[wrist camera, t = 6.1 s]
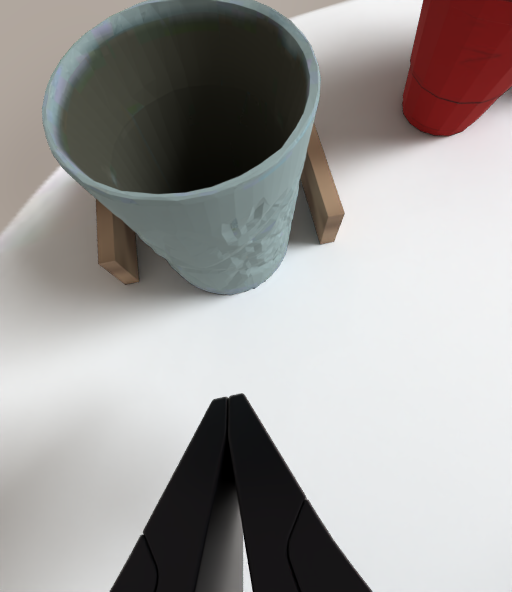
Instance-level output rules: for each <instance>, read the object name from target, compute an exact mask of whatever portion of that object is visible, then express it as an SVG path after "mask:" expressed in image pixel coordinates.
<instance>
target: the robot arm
mask: <svg viewBox="0 0 512 592" xmlns="http://www.w3.org/2000/svg"><path fill="white" fill-rule="evenodd" d="M143 534H144V535H141V536H140V537H139V539H138V541H137V543H136V545H135V547H134V549H133V551H132V552H131V554H130V556H129V558H128V560H127V562H126V563H125V565H124V567H123V569H122V571H121V572H120V574H119V576H118V578H117V580H116V581H115V583H114V585H113V587H112V588H111V590H110V592H243V535H244V541H245V547H246V553H247V559H248V565H249V571H250V578H251V584H252V590H253V592H372V590H371V589H370V588H369V586H368V585H367V584H366V583H365V581H364V580H363V579H362V577H361V576H360V575H359V574H358V572H357V571H356V570H355V568H354V567H353V566H352V564H351V563H350V562H349V560H348V559H347V558H346V556H345V555H344V553H343V552H342V551H341V549H340V548H339V547H338V545H337V544H336V542H335V541H334V540H333V538H332V537H331V535H330V533H329V532H328V530H327V529H326V527H325V526H324V524H323V523H322V521H321V520H320V518H319V517H318V515H317V513H316V512H315V510H314V508H313V507H312V505H311V503H310V502H309V500H307V498H306V495H305V494H304V492H303V490H302V489H301V487H300V486H299V484H298V482H297V481H296V479H295V477H294V476H293V474H292V472H291V471H290V469H289V467H288V466H287V464H286V462H285V461H284V459H283V457H282V456H281V454H280V452H279V451H278V449H277V448H276V446H275V444H274V443H273V441H272V439H271V438H270V436H269V434H268V433H267V431H266V429H265V428H264V426H263V424H262V423H261V421H260V419H259V418H258V416H257V414H256V413H255V411H254V409H253V408H252V406H251V405H250V403H249V401H248V400H247V398H246V396H245V395H244V394H243V393H241V394H236V395H231V396H230V397H229V398H228V397H222V398H217V399H214V400H213V401H212V402H211V404H210V406H209V408H208V409H207V411H206V413H205V415H204V417H203V419H202V421H201V423H200V425H199V426H198V428H197V430H196V432H195V434H194V436H193V438H192V440H191V442H190V443H189V445H188V447H187V449H186V451H185V453H184V455H183V457H182V459H181V460H180V462H179V464H178V466H177V468H176V470H175V472H174V474H173V475H172V477H171V479H170V481H169V483H168V485H167V487H166V489H165V491H164V492H163V494H162V496H161V498H160V500H159V502H158V504H157V506H156V508H155V509H154V511H153V513H152V515H151V517H150V519H149V521H148V523H147V525H146V526H145V528H144V530H143Z"/></svg>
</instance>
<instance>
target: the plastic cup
mask: <svg viewBox="0 0 512 592" xmlns="http://www.w3.org/2000/svg"><path fill="white" fill-rule="evenodd" d="M410 64H411V65H410V69H409V73H408V77H407V81H406V85H405V89H404V93H403V102H402V106H403V114H404V115H405V117H406V118H407V120H408V121H409V123H410V124H411V125H413V126H414V127H416V128H417V129H419V130H420V131H422V132H425V133H429V134H432V135H453V134H456V133H459V132H462V131H464V130H465V129H466V128H467V127H468V126H470V125H471V124H472V123H474V122H475V121H476V120H477V119H478V118H479V117H480V116H481V115H482V114H483V113H484V112H485V111H486V110H487V109H488V108H489V107H490V106H491V105H492V104H493V103H494V102H495V101H496V100H497V99H498V98H499V97H500V96H501V95H502V94H503V93H505V92H506V91H507V90H508V89H509V88H510V87H511V86H512V0H423V4H422V9H421V13H420V18H419V22H418V27H417V31H416V36H415V41H414V45H413V50H412V54H411V59H410Z"/></svg>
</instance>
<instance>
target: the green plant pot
mask: <svg viewBox="0 0 512 592" xmlns="http://www.w3.org/2000/svg"><path fill="white" fill-rule="evenodd" d="M320 81H321V78H320V71H319V65H318V62H317V60H316V57H315V54H314V51H313V49H312V46H311V45H310V43H309V42H308V40H307V39H306V37H305V36H304V34H303V33H302V32H301V31H300V30H299V29H298V28H297V27H296V26H295V25H294V24H293V23H292V22H291V21H290V20H289V19H287V18H286V17H285V16H283V15H282V14H280V13H279V12H277V11H276V10H274V9H272V8H270V7H268V6H266V5H264V4H261V3H259V2H257V1H254V0H148V1H144V2H141V3H138V4H136V5H134V6H132V7H130V8H128V9H125V10H123V11H121V12H119V13H117V14H114V15H112V16H110V17H109V18H107V19H106V20H105V21H103V22H101V23H100V24H98V25H97V26H95V27H94V28H93V29H91V30H89V31H88V32H87V33H85V34H84V35H83V36H82V37H81V38H80V39H79V40H78V41H77V42H76V43H74V44H73V46H72V47H71V48H70V49H69V50H68V52H67V53H66V54H65V55H64V56H63V58H62V59H61V60H60V62H59V64H58V65H57V67H56V69H55V70H54V72H53V74H52V75H51V78H50V80H49V83H48V85H47V88H46V91H45V96H44V101H43V106H42V119H43V126H44V130H45V135H46V138H47V141H48V144H49V146H50V149H51V151H52V154H53V156H54V157H55V158H56V160H57V161H58V162H59V164H60V165H61V167H62V168H63V169H64V170H65V171H66V172H67V173H68V174H69V175H70V176H71V177H72V178H74V179H75V180H76V181H77V182H78V183H79V184H80V185H81V186H82V187H84V188H85V189H86V190H87V191H88V192H89V193H90V194H91V195H93V196H94V197H95V198H96V199H97V200H98V201H99V202H101V203H102V204H103V205H104V206H105V207H106V208H107V209H109V210H110V211H111V212H112V213H113V214H114V215H116V216H117V217H118V218H120V219H121V220H123V222H124V223H125V224H127V225H128V226H129V227H130V228H131V229H132V230H133V231H134V232H136V233H137V234H138V235H139V237H140V238H141V239H142V240H143V241H144V242H145V243H146V244H147V245H148V246H150V247H151V248H152V249H153V250H154V251H155V252H156V253H157V254H158V255H160V256H162V257H163V258H165V259H167V261H168V263H169V264H170V266H171V267H172V268H173V269H174V270H176V271H177V272H178V273H179V274H180V275H181V276H182V277H183V278H184V279H186V280H187V281H188V282H189V283H191V284H192V285H194V286H196V287H197V288H200V289H202V290H205V291H208V292H212V293H217V294H228V295H232V294H236V293H240V292H244V291H248V290H249V289H251V288H253V289H255V288H256V287H257V286H259V285H260V284H261V283H263V282H265V281H266V280H267V279H268V278H269V277H270V276H271V275H272V274H273V273H274V272H275V271H276V270H277V268H278V267H279V265H280V264H281V262H282V261H283V258H284V256H285V254H286V250H287V247H288V241H289V235H290V230H291V221H292V219H293V215H294V210H295V204H296V200H297V196H298V190H299V180H300V177H301V173H302V170H303V167H304V162H305V158H306V153H307V147H308V143H309V139H310V135H311V131H312V127H313V123H314V119H315V115H316V111H317V106H318V102H319V98H320Z"/></svg>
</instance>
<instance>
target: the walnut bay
mask: <svg viewBox="0 0 512 592" xmlns="http://www.w3.org/2000/svg"><path fill="white" fill-rule="evenodd" d="M300 178H301V182H302V185H303V189H304V192H305V195H306V199H307V202H308V205H309V209H310V212H311V215H312V219H313V222H314V225H315V229H316V232H317V235H318V239H319V242H320V244H324V243H329V242H334V240H335V238H336V235H337V232H338V230H339V227H340V224H341V222H342V219H343V217H344V214H345V213H344V210H343V207H342V204H341V201H340V198H339V195H338V192H337V189H336V186H335V184H334V181H333V178H332V175H331V172H330V169H329V166H328V163H327V160H326V157H325V154H324V151H323V148H322V145H321V142H320V139H319V136H318V134H317V131H316V128H315V125H314V123H313V127H312V131H311V135H310V139H309V143H308V147H307V153H306V158H305V162H304V167H303V170H302V173H301V177H300ZM96 214H97V241H98V264H99V265H100V266H102V267H103V268H104V269H106V270H107V271H108V272H109V273H111V274H112V275H113V276H115V277H116V278H117V279H119V280H120V281H121V282H122V283H124V284H125V285H126V284H130V283H135V282H139V274H138V262H137V250H136V238H135V232H134V231H133V230H132V229H131V228H130V227H129V226H128V225H127V224H125V223H124V222H123V220H121V219H120V218H118V217H117V216H116V215H114V214H113V213H112V212H111V211H110V210H109V209H107V208H106V207H105V206H104V205H103V204H102V203H101V202H99V201H98V200H97V199H96Z"/></svg>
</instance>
